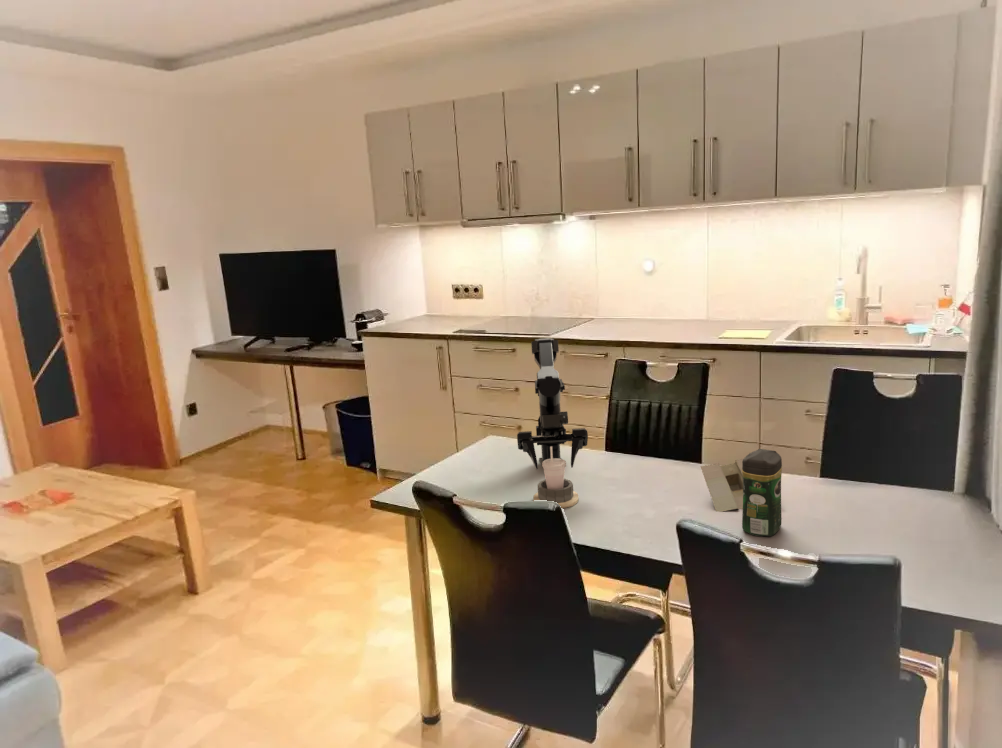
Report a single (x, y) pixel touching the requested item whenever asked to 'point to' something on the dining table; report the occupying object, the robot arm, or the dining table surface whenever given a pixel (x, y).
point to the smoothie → (554, 472)
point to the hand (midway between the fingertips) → (554, 467)
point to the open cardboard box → (725, 485)
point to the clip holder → (557, 494)
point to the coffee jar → (762, 492)
